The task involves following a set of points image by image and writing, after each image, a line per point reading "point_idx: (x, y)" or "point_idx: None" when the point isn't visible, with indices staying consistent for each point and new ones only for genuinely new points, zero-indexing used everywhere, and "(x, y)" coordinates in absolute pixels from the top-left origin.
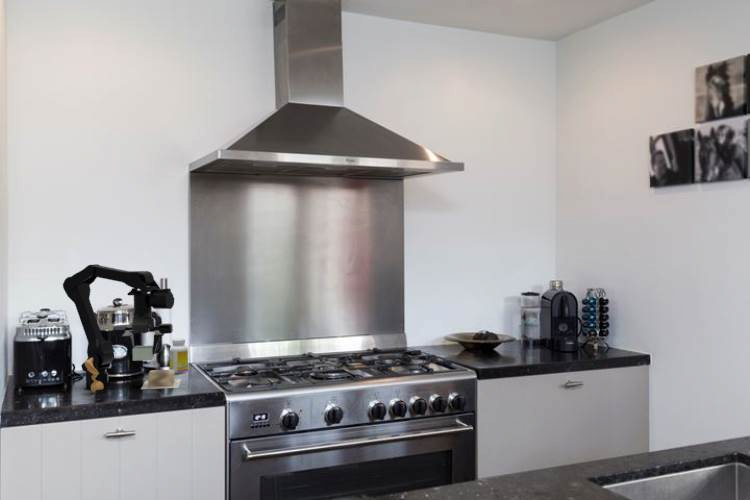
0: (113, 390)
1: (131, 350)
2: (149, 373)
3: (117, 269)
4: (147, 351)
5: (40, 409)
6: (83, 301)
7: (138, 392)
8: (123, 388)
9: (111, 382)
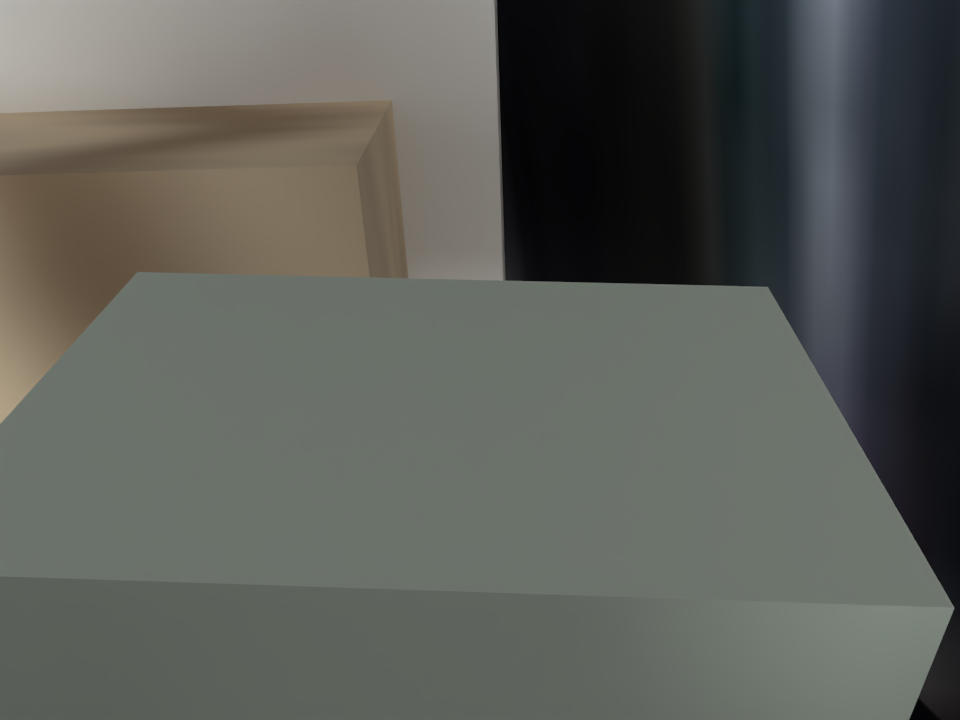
0: (939, 250)
1: (920, 714)
2: None
3: None
4: (156, 460)
5: None
6: None
7: (547, 35)
8: None
9: (929, 675)
